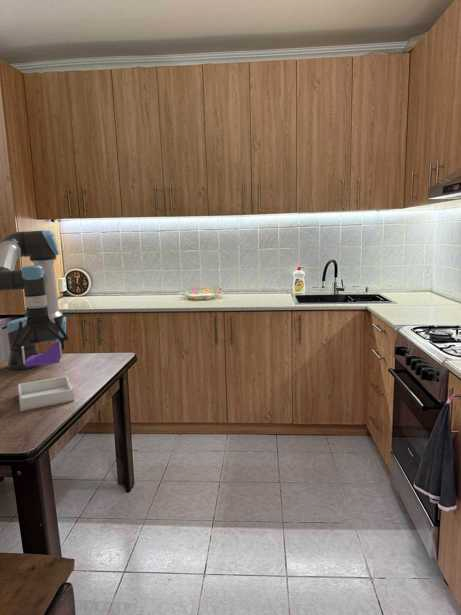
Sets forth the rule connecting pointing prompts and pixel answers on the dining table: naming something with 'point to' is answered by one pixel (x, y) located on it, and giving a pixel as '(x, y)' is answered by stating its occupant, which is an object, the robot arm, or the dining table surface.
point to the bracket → (45, 357)
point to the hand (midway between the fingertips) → (43, 360)
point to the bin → (45, 393)
